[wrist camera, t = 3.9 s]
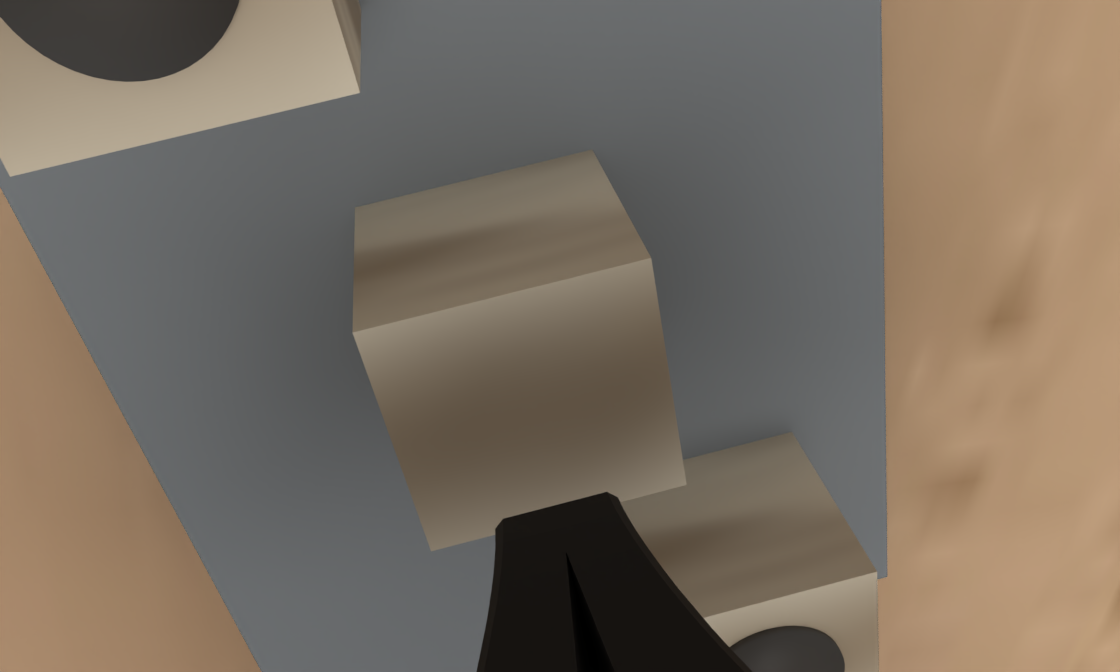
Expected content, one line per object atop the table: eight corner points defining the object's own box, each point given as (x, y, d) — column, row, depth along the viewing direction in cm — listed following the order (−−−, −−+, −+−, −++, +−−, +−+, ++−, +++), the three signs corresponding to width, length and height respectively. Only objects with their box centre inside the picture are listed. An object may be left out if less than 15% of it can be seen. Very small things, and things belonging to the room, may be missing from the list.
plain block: (628, 347, 19) (686, 484, 15) (418, 400, 18) (431, 551, 15) (592, 149, 16) (651, 257, 13) (354, 207, 16) (352, 332, 13)
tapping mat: (872, 552, 24) (886, 576, 23) (297, 705, 23) (295, 734, 22) (849, -530, 13) (875, -544, 12) (-227, -296, 12) (-261, -298, 12)
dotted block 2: (802, 568, 22) (883, 723, 19) (630, 613, 22) (680, 778, 19) (791, 431, 20) (880, 577, 17) (602, 480, 20) (652, 639, 17)
